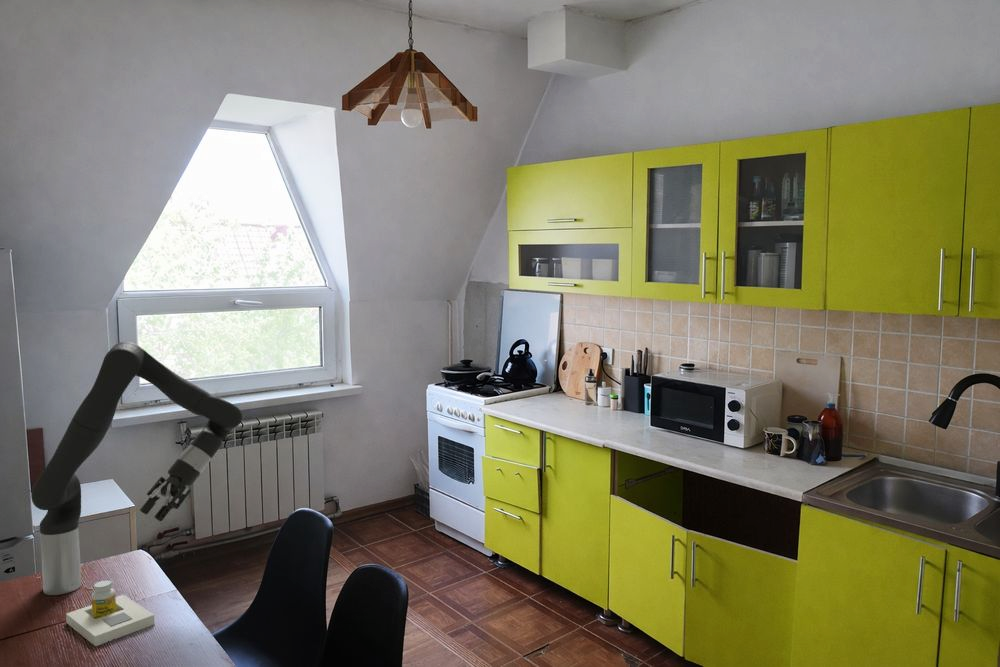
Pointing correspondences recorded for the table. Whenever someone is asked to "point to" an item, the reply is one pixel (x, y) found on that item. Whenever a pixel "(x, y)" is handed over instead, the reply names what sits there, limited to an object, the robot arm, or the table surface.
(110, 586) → the supplement bottle
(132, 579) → the table surface
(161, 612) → the table surface
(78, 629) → the socket dock
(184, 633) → the table surface
